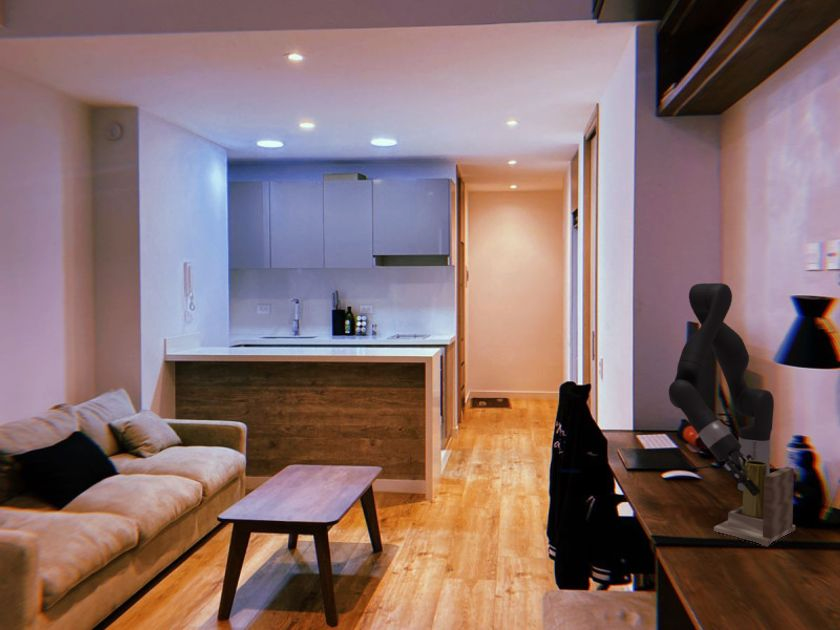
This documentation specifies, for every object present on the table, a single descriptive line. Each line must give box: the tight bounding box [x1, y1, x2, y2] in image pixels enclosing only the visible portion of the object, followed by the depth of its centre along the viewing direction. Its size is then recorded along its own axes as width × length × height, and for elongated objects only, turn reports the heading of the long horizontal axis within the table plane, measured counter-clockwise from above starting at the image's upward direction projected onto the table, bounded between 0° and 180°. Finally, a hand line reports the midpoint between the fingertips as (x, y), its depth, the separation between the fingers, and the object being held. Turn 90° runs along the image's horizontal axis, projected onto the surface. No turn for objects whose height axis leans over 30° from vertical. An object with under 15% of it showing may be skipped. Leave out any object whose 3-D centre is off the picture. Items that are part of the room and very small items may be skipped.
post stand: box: [713, 466, 796, 548], centre depth 191 cm, size 18×14×18 cm
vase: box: [742, 460, 767, 518], centre depth 191 cm, size 6×6×14 cm
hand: (761, 491), depth 189 cm, fingers closed on vase, 5 cm apart
